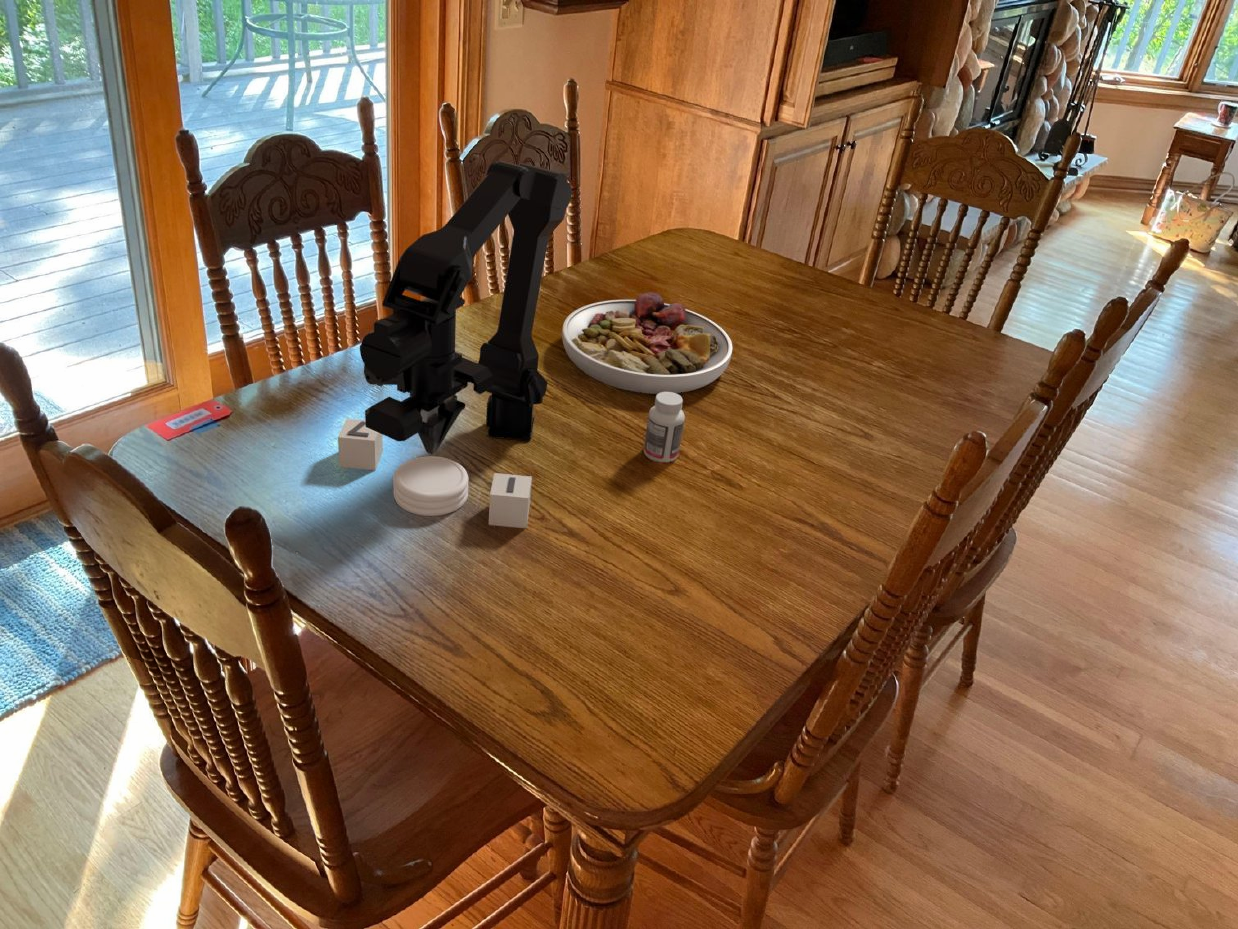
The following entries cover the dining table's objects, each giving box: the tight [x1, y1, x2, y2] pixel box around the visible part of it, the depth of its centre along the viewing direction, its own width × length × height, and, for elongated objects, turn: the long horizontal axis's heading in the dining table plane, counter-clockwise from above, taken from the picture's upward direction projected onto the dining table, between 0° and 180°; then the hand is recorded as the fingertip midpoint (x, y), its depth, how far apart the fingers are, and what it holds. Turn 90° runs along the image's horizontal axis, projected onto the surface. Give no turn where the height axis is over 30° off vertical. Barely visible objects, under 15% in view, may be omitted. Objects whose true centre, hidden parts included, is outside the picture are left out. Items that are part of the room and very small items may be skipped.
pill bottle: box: [643, 392, 685, 463], centre depth 145 cm, size 5×5×10 cm
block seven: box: [337, 418, 384, 471], centre depth 137 cm, size 5×5×5 cm
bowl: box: [561, 291, 733, 395], centre depth 172 cm, size 30×30×8 cm
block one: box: [488, 472, 533, 529], centre depth 130 cm, size 5×5×5 cm
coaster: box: [392, 455, 469, 517], centre depth 132 cm, size 10×10×4 cm
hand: (431, 452), depth 129 cm, fingers closed
